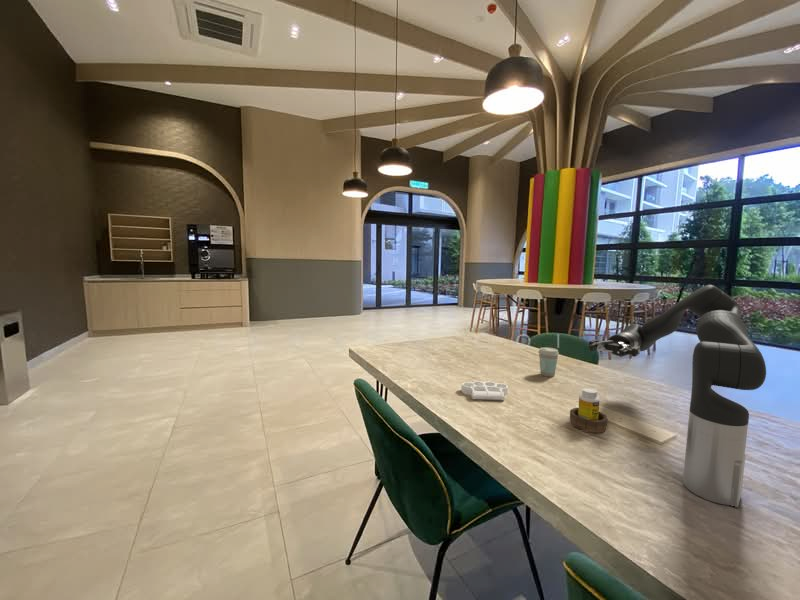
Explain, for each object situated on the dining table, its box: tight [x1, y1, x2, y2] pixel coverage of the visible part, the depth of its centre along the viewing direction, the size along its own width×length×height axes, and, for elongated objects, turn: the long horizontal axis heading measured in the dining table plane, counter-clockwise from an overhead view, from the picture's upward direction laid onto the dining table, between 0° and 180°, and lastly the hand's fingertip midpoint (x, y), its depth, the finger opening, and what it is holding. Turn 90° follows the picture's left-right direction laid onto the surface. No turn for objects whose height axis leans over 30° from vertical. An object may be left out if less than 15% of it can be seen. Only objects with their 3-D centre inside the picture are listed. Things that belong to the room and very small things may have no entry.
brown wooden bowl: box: [569, 407, 609, 434], centre depth 104 cm, size 10×10×4 cm
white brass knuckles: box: [461, 380, 509, 401], centre depth 130 cm, size 3×18×15 cm
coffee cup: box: [538, 346, 560, 378], centre depth 152 cm, size 9×8×12 cm
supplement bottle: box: [577, 387, 600, 421], centre depth 104 cm, size 6×6×10 cm
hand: (605, 350), depth 109 cm, fingers open, 8 cm apart
